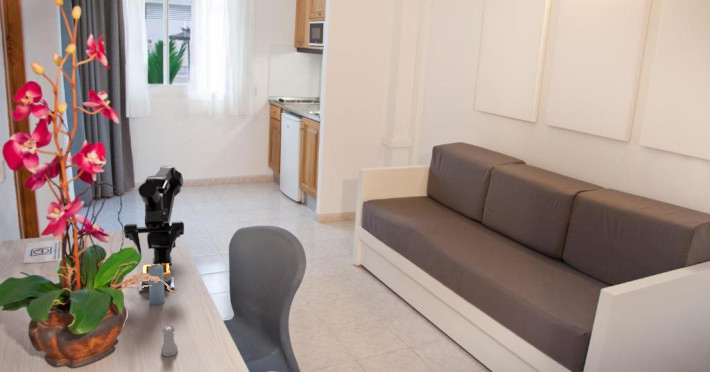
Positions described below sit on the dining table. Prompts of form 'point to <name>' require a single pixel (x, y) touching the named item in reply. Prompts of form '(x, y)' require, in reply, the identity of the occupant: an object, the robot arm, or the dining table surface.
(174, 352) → the rook chess piece
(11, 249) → the dining table surface
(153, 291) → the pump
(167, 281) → the open square bin
